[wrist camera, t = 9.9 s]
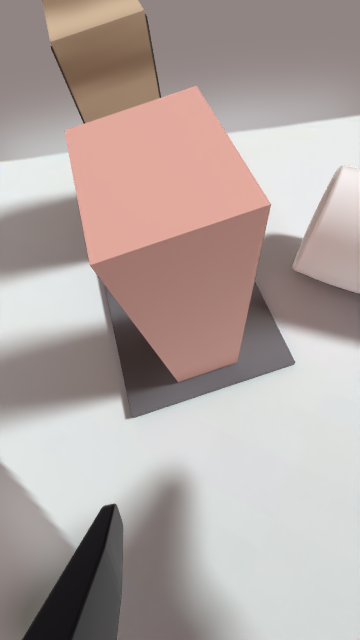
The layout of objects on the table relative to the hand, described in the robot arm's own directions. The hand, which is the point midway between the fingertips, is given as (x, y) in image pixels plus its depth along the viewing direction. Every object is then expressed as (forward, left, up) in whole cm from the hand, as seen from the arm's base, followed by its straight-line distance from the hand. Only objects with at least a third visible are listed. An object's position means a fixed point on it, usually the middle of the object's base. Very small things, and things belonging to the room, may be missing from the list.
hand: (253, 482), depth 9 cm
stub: (+5, +6, -8) cm, 11 cm away
